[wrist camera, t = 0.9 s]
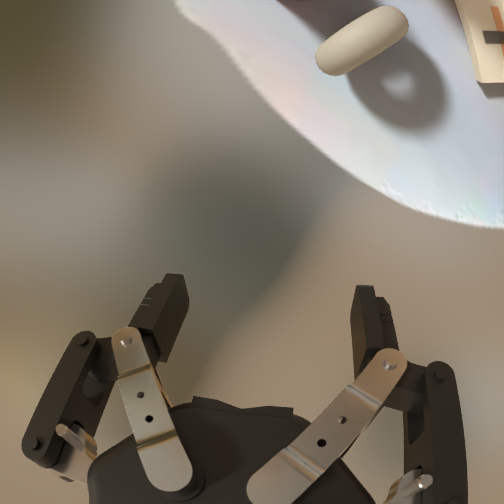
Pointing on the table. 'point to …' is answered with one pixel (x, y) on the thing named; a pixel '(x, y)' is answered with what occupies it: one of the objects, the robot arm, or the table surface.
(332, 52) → the donut
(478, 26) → the fader deck
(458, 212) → the table surface
